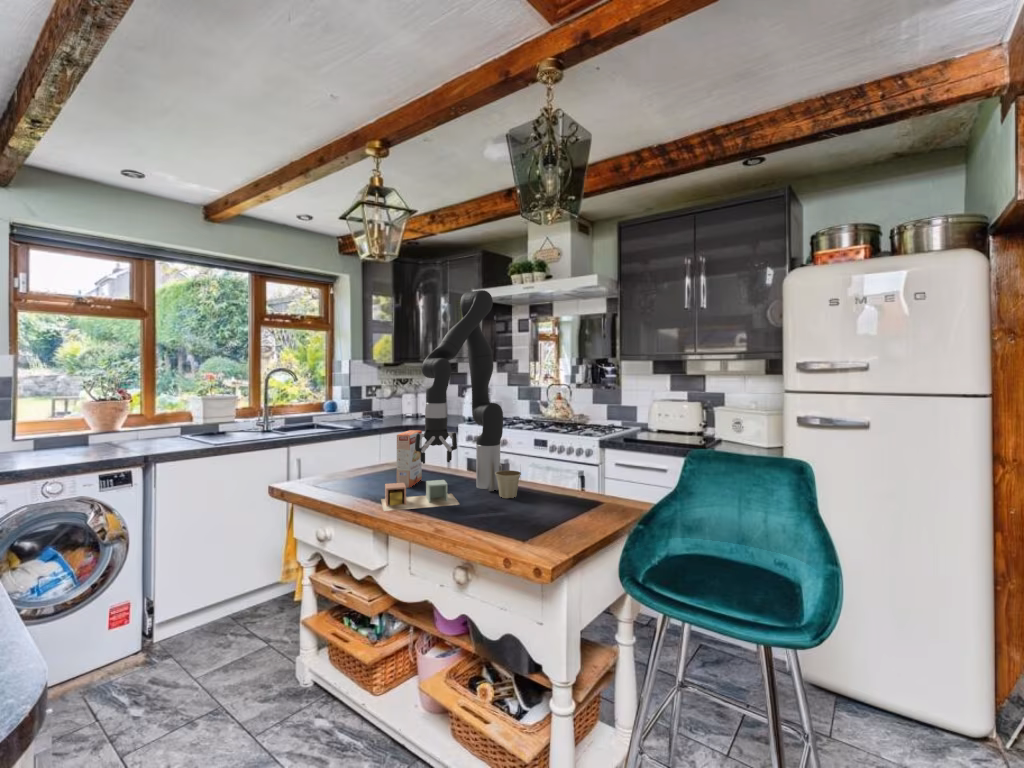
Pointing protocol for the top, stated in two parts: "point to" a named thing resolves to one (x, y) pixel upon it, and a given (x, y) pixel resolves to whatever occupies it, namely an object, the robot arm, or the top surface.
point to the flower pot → (508, 483)
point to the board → (420, 503)
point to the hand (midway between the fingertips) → (436, 462)
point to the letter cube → (395, 497)
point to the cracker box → (408, 459)
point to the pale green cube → (436, 489)
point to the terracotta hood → (395, 487)
